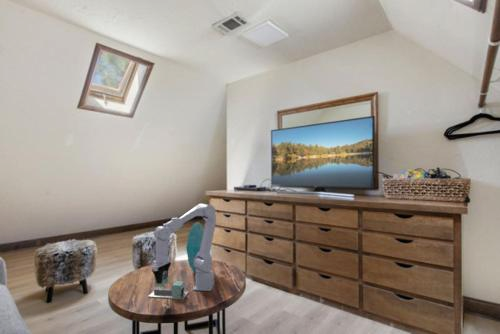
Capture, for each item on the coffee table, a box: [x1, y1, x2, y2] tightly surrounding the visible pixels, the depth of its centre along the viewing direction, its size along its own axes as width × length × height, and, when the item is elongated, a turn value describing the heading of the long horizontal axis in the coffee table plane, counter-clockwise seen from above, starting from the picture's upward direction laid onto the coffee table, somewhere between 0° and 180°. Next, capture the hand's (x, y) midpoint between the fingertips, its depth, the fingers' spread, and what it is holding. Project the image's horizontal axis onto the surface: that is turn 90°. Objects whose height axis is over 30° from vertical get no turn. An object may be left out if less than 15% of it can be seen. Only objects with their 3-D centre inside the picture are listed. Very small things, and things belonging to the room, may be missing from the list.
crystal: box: [185, 222, 204, 273], centre depth 160 cm, size 12×14×30 cm
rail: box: [147, 280, 190, 300], centre depth 130 cm, size 18×7×6 cm, turn 84°
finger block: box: [154, 270, 169, 288], centre depth 124 cm, size 4×5×6 cm
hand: (161, 280), depth 124 cm, fingers closed on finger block, 5 cm apart
